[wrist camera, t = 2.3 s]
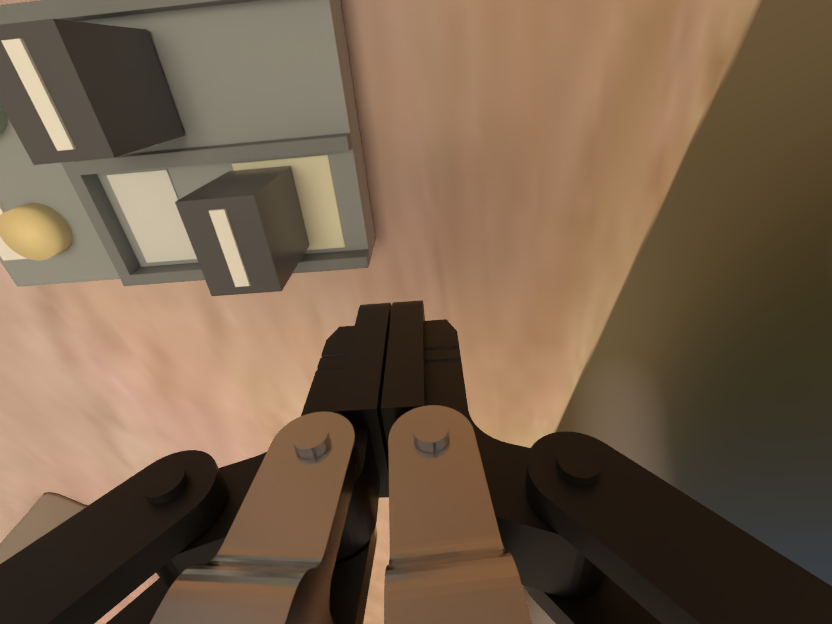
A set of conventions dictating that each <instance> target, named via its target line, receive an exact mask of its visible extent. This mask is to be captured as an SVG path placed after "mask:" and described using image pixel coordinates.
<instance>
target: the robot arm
mask: <svg viewBox="0 0 832 624" xmlns="http://www.w3.org/2000/svg"><path fill="white" fill-rule="evenodd" d="M317 368H318V370H317V371H316V373H315V376H314V379H313V382H312V385H311V388H310V391H309V394H308V397H307V400H306V403H305V406H304V409H303V412H302V415H301V417H299V418H296V419H295V420H293V421H291V422H290V423H288V424H287V425H286V426H284V427H283V428H282V429H281V430H280V431H279V432H278V434H277V435H276V436H275V438H274V439H273V441H272V443H271V445H270V447H269V449H268V451H267V452H265V453H263V454H261V455H258V456H256V457H253V458H250V459H246V460H243V461H240V462H237V463H234V464H231V465H228V466H224V467H221V468H218V466H217V464H216V462H215V460H214V459H213V458H212V456H210V455H209V454H207V453H205V452H202V451H197V450H188V451H181V452H177V453H173V454H171V455H168V456H165V457H163V458H161V459H159V460H157V461H156V462H154V463H152V464H151V465H149V466H147V467H146V468H144V469H143V470H141V471H140V472H138V473H137V474H135V475H134V476H132V477H131V478H129V479H128V480H126V481H125V482H123V483H122V484H120V485H119V486H117V487H116V488H114V489H113V490H111V491H110V492H108V493H107V494H105V495H104V496H102V497H101V498H99V499H98V500H96V501H95V502H93V503H92V504H90V505H89V506H87V507H86V508H84V509H83V510H81V511H80V512H78V513H77V514H75V515H73V516H72V517H70V518H69V519H67V520H66V521H64V522H63V523H61V524H60V525H58V526H57V527H55V528H54V529H52V530H51V531H49V532H48V533H46V534H45V535H43V536H42V537H40V538H39V539H37V540H36V541H34V542H33V543H31V544H30V545H28V546H27V547H25V548H24V549H22V550H21V551H19V552H18V553H16V554H15V555H13V556H12V557H10V558H9V559H7V560H6V561H4V562H3V563H1V564H0V624H94V623H96V622H97V621H98V620H99V619H100V618H102V617H103V616H104V615H105V614H106V613H108V612H109V611H110V610H111V609H112V608H114V607H115V606H116V605H117V604H118V603H120V602H121V601H122V600H123V599H124V598H126V597H127V596H128V595H129V594H130V593H132V592H133V591H134V590H135V589H136V588H138V587H139V586H140V585H141V584H142V583H144V582H145V581H146V580H147V579H148V578H150V577H151V576H152V575H153V574H154V573H157V574H158V576H159V577H160V578H159V579H158V580H157V581H156V582H154V583H153V584H152V585H151V586H150V587H149V588H147V589H146V590H145V591H144V592H143V593H141V594H140V595H139V596H138V597H137V598H136V599H134V600H133V601H132V602H131V603H130V604H128V605H127V606H126V607H125V608H124V609H123V610H121V611H120V612H119V613H118V614H117V615H115V616H114V617H113V618H112V619H111V620H110V621H108V622H107V623H106V624H363V621H364V615H365V609H366V603H367V596H368V590H369V584H370V578H371V572H372V566H373V560H374V554H375V548H376V542H377V529H376V521H377V510H378V500H379V498H380V497H389V522H390V560H389V565H387V567H386V571H385V585H384V624H532V621H531V617H530V613H529V609H528V606H527V602H526V598H525V594H524V591H523V587H522V585H524V587H525V589H526V590H527V592H528V594H529V595H530V596H531V597H532V598H533V600H534V601H535V602H536V603H537V604H538V605H539V606H540V607H541V608H542V609H543V610H544V611H545V612H546V613H547V614H548V615H549V617H550V618H551V619H552V620H553V621H554V622H555V623H556V624H832V586H830V585H829V584H827V583H825V582H824V581H822V580H821V579H819V578H818V577H816V576H814V575H813V574H811V573H810V572H808V571H807V570H805V569H803V568H802V567H800V566H799V565H797V564H795V563H794V562H792V561H791V560H789V559H788V558H786V557H784V556H783V555H781V554H779V553H778V552H776V551H775V550H773V549H772V548H770V547H768V546H767V545H765V544H764V543H762V542H761V541H759V540H757V539H756V538H754V537H753V536H751V535H749V534H748V533H746V532H745V531H743V530H741V529H740V528H738V527H737V526H735V525H733V524H732V523H730V522H729V521H727V520H726V519H724V518H723V517H721V516H719V515H718V514H716V513H714V512H713V511H711V510H710V509H708V508H707V507H705V506H703V505H702V504H700V503H698V502H697V501H696V500H694V499H692V498H691V497H689V496H688V495H686V494H684V493H683V492H681V491H680V490H678V489H677V488H675V487H673V486H672V485H670V484H669V483H667V482H665V481H664V480H662V479H661V478H659V477H657V476H656V475H654V474H653V473H651V472H649V471H648V470H646V469H645V468H643V467H642V466H640V465H638V464H637V463H635V462H634V461H632V460H631V459H629V458H627V457H626V456H624V455H623V454H621V453H619V452H618V451H616V450H615V449H613V448H611V447H610V446H608V445H607V444H605V443H603V442H602V441H600V440H598V439H596V438H594V437H591V436H588V435H585V434H581V433H576V432H556V433H552V434H548V435H546V436H544V437H542V438H541V439H539V440H538V441H537V442H536V443H535V444H534V445H533V446H532V447H531V448H527V447H523V446H518V445H514V444H509V443H505V442H502V441H499V440H496V439H494V438H492V437H490V436H488V435H487V434H485V433H484V432H483V431H481V430H480V429H479V428H478V427H477V426H476V425H475V424H474V422H473V421H472V419H471V417H470V415H469V411H468V406H467V398H466V391H465V384H464V377H463V370H462V363H461V356H460V349H459V342H458V335H457V331H456V330H455V329H454V327H453V326H452V325H451V324H450V323H449V322H448V321H447V320H432V321H425V316H424V305H423V301H409V302H395V303H393V304H392V305H391V303H382V304H368V305H360V307H359V311H358V315H357V319H356V323H355V326H345V327H339V328H338V329H337V330H336V331H335V332H334V333H333V334H332V335H331V336H330V337H329V338H328V339H327V340H326V343H325V346H324V349H323V352H322V358H320V361H319V364H318V367H317Z"/></svg>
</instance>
